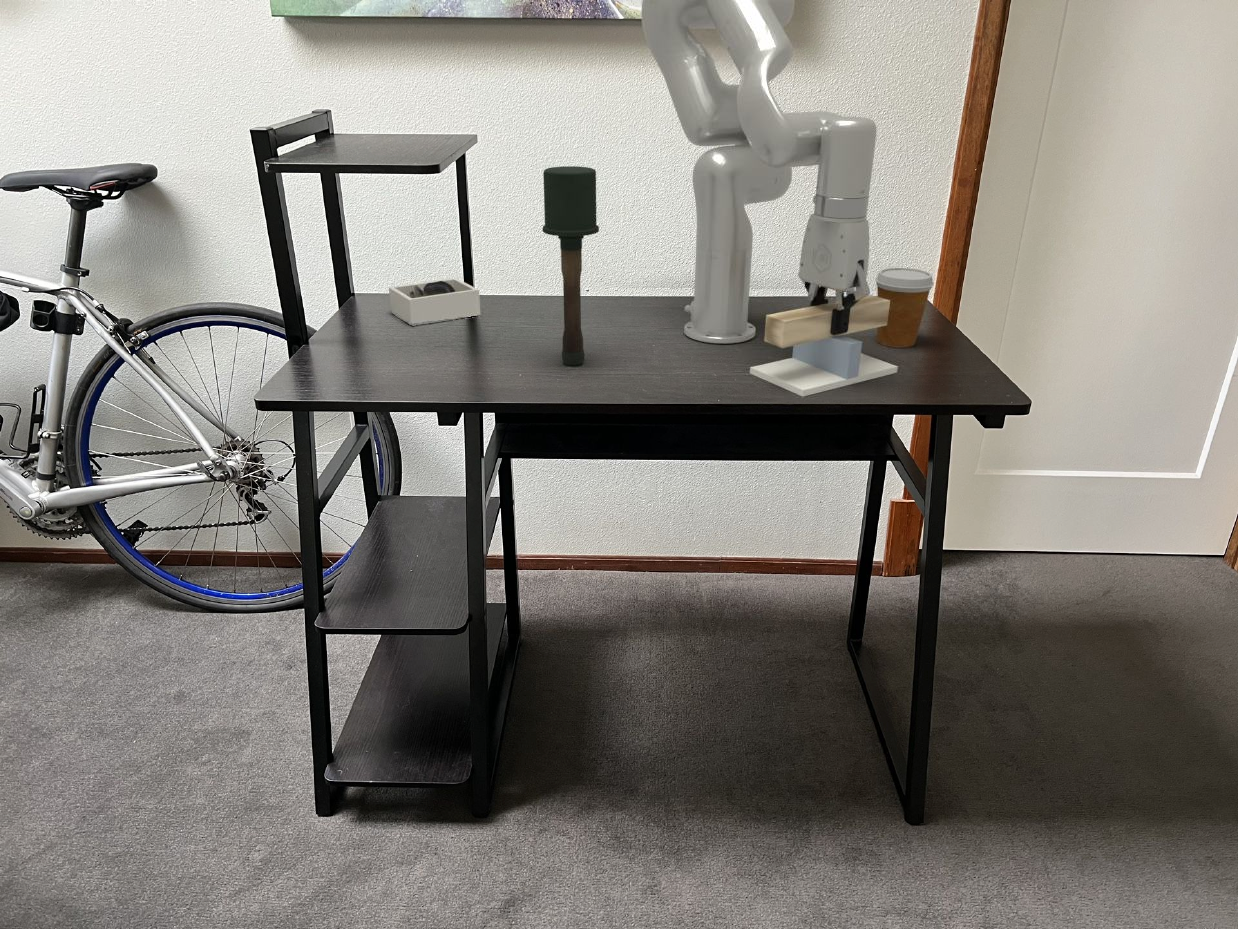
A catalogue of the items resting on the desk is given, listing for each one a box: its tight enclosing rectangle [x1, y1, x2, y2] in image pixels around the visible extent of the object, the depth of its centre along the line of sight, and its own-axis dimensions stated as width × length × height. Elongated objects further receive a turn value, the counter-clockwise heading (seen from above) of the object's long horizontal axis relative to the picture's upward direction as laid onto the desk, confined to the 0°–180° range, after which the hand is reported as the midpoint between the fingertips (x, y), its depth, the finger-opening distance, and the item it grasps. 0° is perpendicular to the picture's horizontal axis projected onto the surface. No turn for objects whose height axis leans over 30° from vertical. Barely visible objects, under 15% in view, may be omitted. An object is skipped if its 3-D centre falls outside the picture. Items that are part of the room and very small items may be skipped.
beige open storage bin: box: [388, 277, 482, 324], centre depth 171 cm, size 11×14×5 cm
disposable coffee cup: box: [874, 267, 935, 349], centre depth 155 cm, size 10×10×12 cm
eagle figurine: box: [407, 280, 455, 298], centre depth 171 cm, size 8×7×9 cm
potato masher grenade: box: [542, 165, 600, 366], centre depth 140 cm, size 8×9×30 cm
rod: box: [763, 294, 890, 349], centre depth 139 cm, size 4×22×4 cm, turn 123°
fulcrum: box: [749, 335, 899, 397], centre depth 142 cm, size 12×20×6 cm, turn 123°
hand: (827, 328), depth 140 cm, fingers closed on rod, 4 cm apart
